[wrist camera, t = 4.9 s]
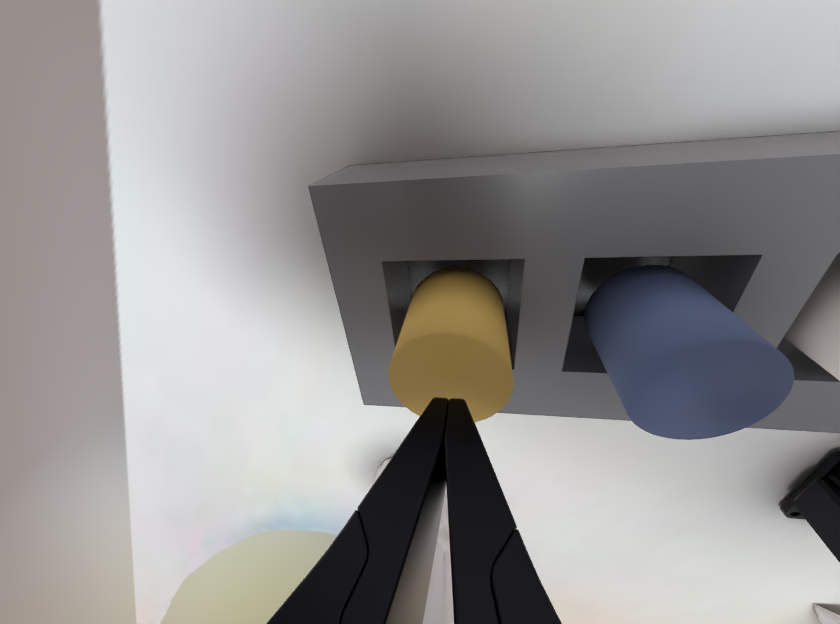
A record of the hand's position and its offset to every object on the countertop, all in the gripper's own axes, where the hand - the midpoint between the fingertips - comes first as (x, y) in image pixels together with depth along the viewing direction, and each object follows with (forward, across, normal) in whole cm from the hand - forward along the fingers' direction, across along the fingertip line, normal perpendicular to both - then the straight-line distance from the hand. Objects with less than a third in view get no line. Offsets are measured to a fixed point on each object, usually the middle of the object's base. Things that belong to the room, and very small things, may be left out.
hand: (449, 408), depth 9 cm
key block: (+8, -6, 0) cm, 10 cm away
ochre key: (+5, 0, 0) cm, 5 cm away
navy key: (+5, -6, 0) cm, 8 cm away
